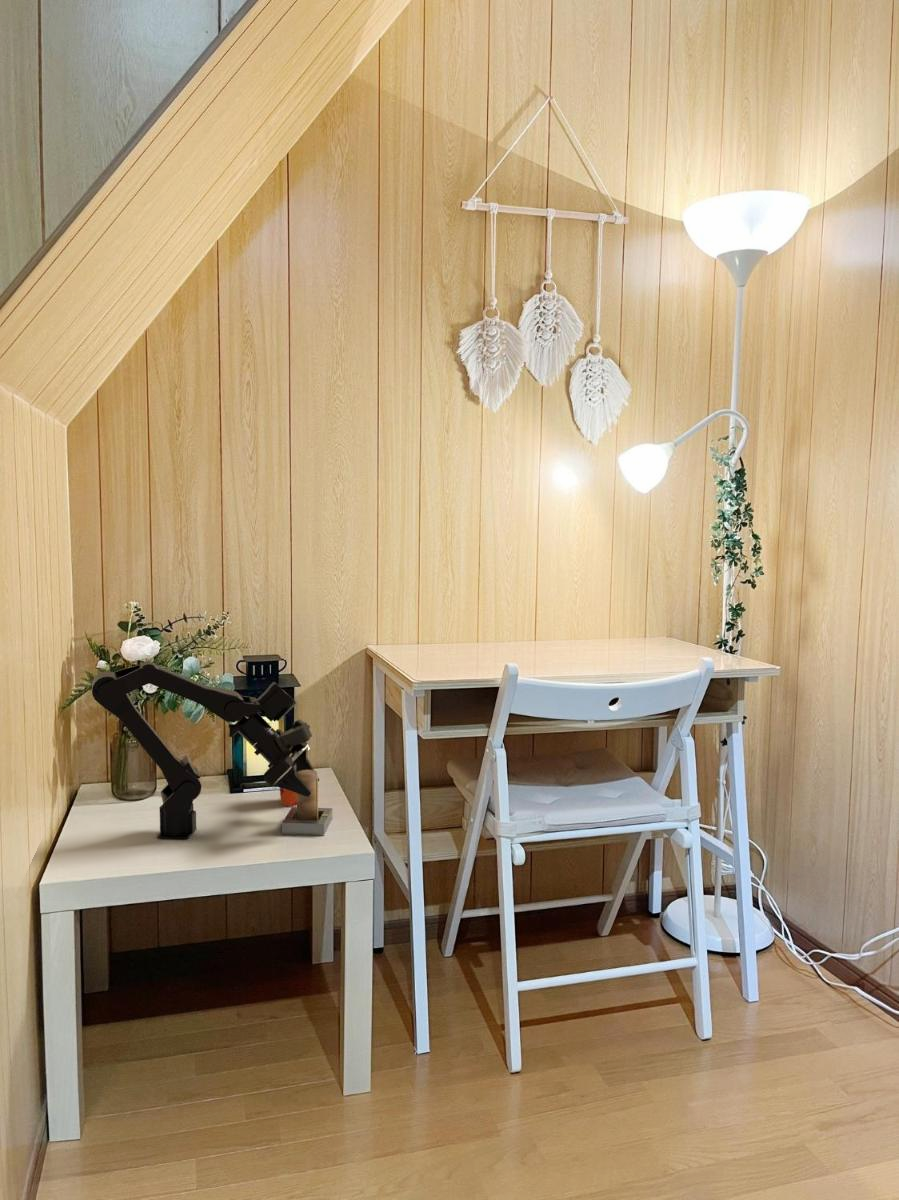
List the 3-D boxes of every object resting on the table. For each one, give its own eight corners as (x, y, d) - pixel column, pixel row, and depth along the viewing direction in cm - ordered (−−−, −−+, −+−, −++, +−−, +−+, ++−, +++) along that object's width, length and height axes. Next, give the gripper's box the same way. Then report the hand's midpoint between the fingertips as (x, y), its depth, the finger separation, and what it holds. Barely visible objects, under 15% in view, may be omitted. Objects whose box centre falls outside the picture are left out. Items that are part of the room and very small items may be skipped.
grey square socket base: (282, 834, 199) (281, 821, 199) (292, 818, 209) (292, 806, 209) (324, 835, 199) (324, 823, 198) (332, 819, 208) (332, 807, 208)
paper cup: (277, 808, 215) (276, 749, 213) (275, 798, 222) (274, 740, 221) (311, 806, 217) (311, 747, 215) (308, 796, 224) (308, 738, 222)
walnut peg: (295, 829, 202) (294, 775, 200) (299, 822, 206) (298, 769, 205) (316, 830, 201) (315, 776, 200) (319, 823, 206) (319, 769, 204)
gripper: (278, 722, 192) (332, 776, 192) (297, 702, 210) (346, 751, 211) (241, 759, 193) (294, 812, 194) (263, 735, 212) (312, 784, 212)
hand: (313, 788), depth 203 cm, fingers open, 9 cm apart
